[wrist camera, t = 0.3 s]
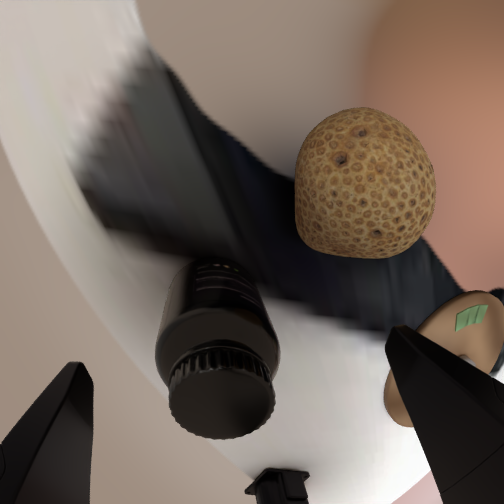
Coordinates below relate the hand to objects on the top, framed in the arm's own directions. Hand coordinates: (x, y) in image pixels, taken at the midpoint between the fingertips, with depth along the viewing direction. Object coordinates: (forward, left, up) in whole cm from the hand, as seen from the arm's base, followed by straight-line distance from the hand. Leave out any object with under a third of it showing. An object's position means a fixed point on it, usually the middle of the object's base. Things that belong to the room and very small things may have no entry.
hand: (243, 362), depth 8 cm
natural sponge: (+7, -6, -15) cm, 18 cm away
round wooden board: (-3, -31, -15) cm, 34 cm away
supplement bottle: (-5, -2, -15) cm, 16 cm away
